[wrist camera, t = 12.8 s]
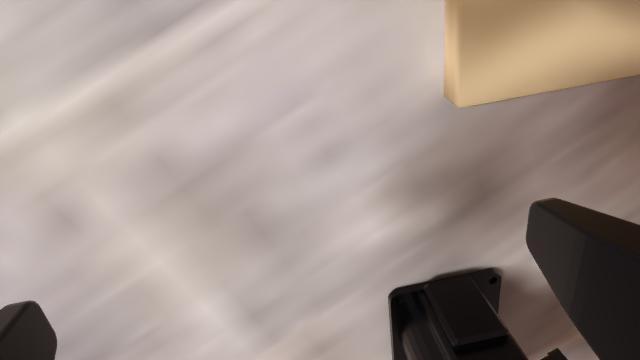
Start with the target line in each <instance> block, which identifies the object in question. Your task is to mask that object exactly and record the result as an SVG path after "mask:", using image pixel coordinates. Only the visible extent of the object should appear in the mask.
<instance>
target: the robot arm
mask: <svg viewBox="0 0 640 360" xmlns="http://www.w3.org/2000/svg"><path fill="white" fill-rule="evenodd" d="M526 243H527V246H528V249H529V251H530V252H531V254H532V256H533V257H534V259H535V261H536V263H537V264H538V266H539V268H540V269H541V271H542V273H543V275H544V276H545V278H546V280H547V281H548V283H549V285H550V287H551V288H552V290H553V292H554V293H555V295H556V297H557V298H558V300H559V302H560V304H561V305H562V307H563V308H564V310H565V312H566V313H567V315H568V316H569V318H570V319H571V321H572V322H573V324H574V325H575V326H576V328H577V329H578V331H579V332H580V333H581V335H582V336H583V337H584V339H585V340H586V341H587V343H588V344H589V346H590V347H591V348H592V350H593V351H594V352H595V354H596V355H597V356H598V358H599V359H600V360H640V225H638V224H635V223H632V222H629V221H626V220H623V219H619V218H616V217H613V216H610V215H607V214H604V213H601V212H598V211H595V210H592V209H589V208H586V207H582V206H579V205H576V204H573V203H570V202H567V201H564V200H561V199H558V198H548V199H543V200H538V201H535V202H533V203H532V204H531V206H530V210H529V217H528V224H527V231H526ZM500 287H501V276H500V275H499V273H498V272H497V271H496V270H494V269H490V270H485V271H480V272H476V273H471V274H467V275H462V276H457V277H453V278H448V279H443V280H439V281H434V282H430V283H425V284H420V285H416V286H411V287H406V288H402V289H397V290H394V291H392V292H391V293H390V294H389V296H388V303H389V317H390V331H391V346H392V360H528V358H527V357H526V355H525V354H524V352H523V351H522V349H521V348H520V346H519V345H518V344H517V342H516V341H515V339H514V338H513V336H512V335H511V333H510V332H509V330H508V329H507V327H506V326H505V324H504V323H503V322H502V320H501V319H500V317H499V316H498V308H499V297H500ZM397 298H399V299H397ZM396 299H397V300H396ZM56 349H57V337H56V334H55V332H54V330H53V328H52V326H51V325H50V323H49V321H48V319H47V318H46V316H45V314H44V313H43V311H42V309H41V307H40V306H39V305H38V303H36V302H35V301H24V302H19V303H14V304H10V305H7V306H5V307H4V308H2V309H1V310H0V360H55V354H56ZM547 354H548V356H546V357H544V358H543V359H541V360H567V358H566V357H565V356H564V355H563V354H562V353H561V351H560V350H559V349H558V348H556V349H555V350H553V351H551V352H549V353H547Z"/></svg>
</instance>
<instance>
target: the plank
mask: <svg viewBox="0 0 640 360" xmlns="http://www.w3.org/2000/svg"><path fill="white" fill-rule="evenodd" d="M635 75H640V0H445V46H444V96H445V97H446V98H447V99H448V100H450V101H451V102H452V103H453V104H455V105H456V106H457V107H459V108H462V107H467V106H473V105H478V104H483V103H489V102H494V101H500V100H505V99H511V98H516V97H521V96H527V95H532V94H538V93H543V92H548V91H554V90H559V89H565V88H570V87H576V86H581V85H586V84H592V83H597V82H603V81H608V80H614V79H619V78H624V77H630V76H635Z"/></svg>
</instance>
